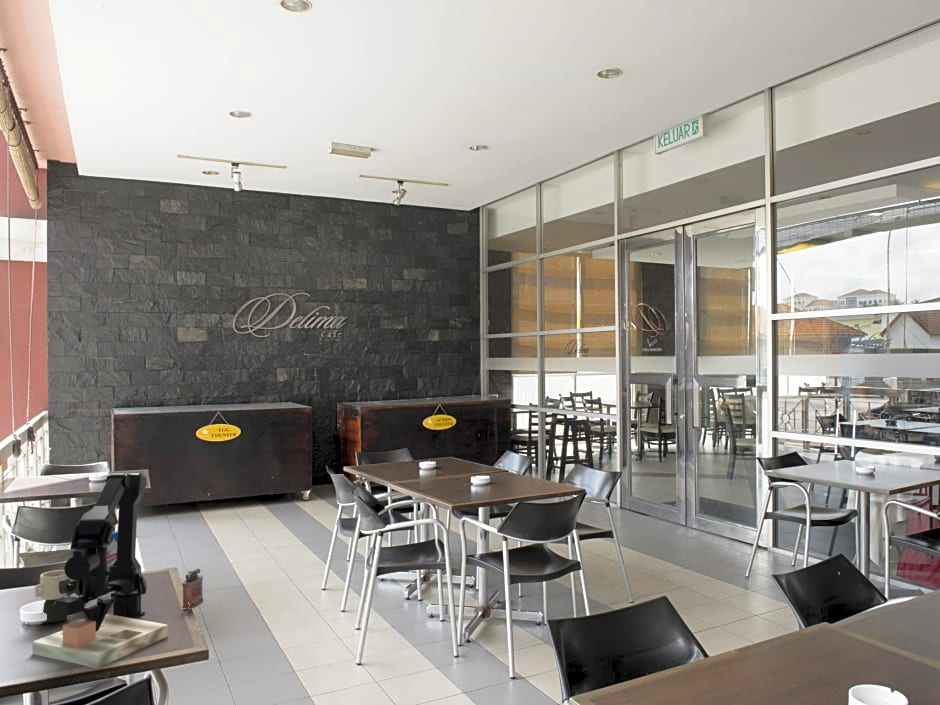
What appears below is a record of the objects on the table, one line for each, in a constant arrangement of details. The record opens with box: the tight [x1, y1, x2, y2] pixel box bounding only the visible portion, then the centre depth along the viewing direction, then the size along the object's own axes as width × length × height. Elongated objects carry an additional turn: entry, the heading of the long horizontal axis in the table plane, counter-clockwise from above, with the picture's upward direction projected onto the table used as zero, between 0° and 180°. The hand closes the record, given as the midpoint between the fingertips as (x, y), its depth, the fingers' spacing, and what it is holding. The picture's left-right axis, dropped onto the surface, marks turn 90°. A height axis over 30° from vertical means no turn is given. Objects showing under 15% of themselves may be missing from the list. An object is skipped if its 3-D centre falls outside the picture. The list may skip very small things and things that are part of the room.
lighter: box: [181, 568, 204, 610], centre depth 212 cm, size 8×3×10 cm, turn 168°
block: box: [62, 618, 96, 648], centre depth 177 cm, size 5×5×4 cm
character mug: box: [34, 569, 75, 623], centre depth 200 cm, size 11×7×13 cm, turn 153°
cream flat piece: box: [32, 613, 169, 669], centre depth 183 cm, size 21×22×3 cm
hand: (95, 631), depth 181 cm, fingers closed
